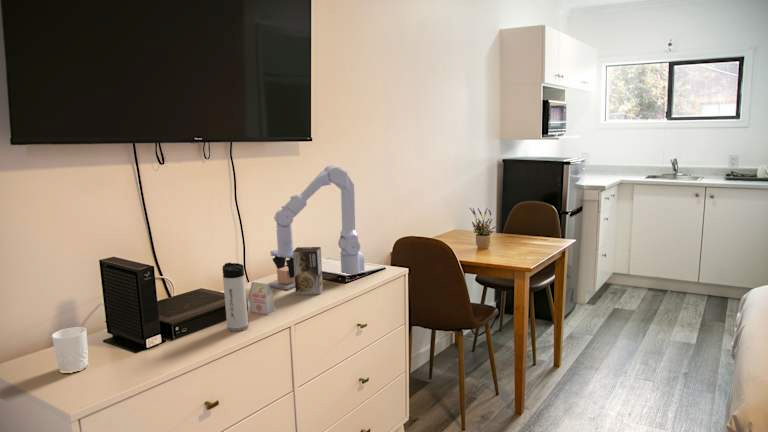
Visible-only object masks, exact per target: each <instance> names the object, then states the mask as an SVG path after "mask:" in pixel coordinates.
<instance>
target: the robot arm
mask: <svg viewBox="0 0 768 432" xmlns="http://www.w3.org/2000/svg"><path fill="white" fill-rule="evenodd" d="M331 183H332V184H334V185H335V186H336V187H337V188H338V189H339V190H340V194H341V195H340V200H341V201H340V202H341V203H340V204H341V231H340V234H339V235H340V236H339V239H338V243H337V244H338V247H339V248H340V267H341V268H340V271H341V272H342V273H346V274H356V273H359V272H361V271H365V257H364V254H363V253H362V252H361V251H360V250H361V244H360V241H359V236H358V233H357V231H356V211H355V210H356V209H355V206H356V204H355V203H356V202H355V184H354V182H353V181H352V179H351V177H350V176H349V174H348V172H347V171H346V170H345V169H343V168H341V167H339V166H334V165H330V164H329V165H328V166H326V167H325V168H324V169H323V170H322V171H320V172H319V173H318V174H317V175H316V177H315V178H314V179H313V180H312V181H311V182H310V183H309V184H308V186H306V188H305V189H304V190H303V191H302V192H301V193H300V194H295V195H291V196H290V197H289V199H290V200H289V201H287V202H286V203H285V205H281V209H278V210H277V211H276V212H275V214H274V216H273V219H274V221H275V222H276V243H277V244H276V245H277V249H273V250H270V251H269V252H270V257H273V258H272V262H273V263H274V264H275V267H276V270H277V269H280V268H283V267H286V265H287V267H288V269H289V275H290V278H292V277H295V274H294V261H293V251H294V243H293V228H292V224H293V221H294V218H296V216H298V215H299V213H300V212H301V211H302V210H303V209H304V208H305V207H306V206H307V203H308V200H309V199H310V198H311V197H313V195H314V194H316V192H317V191H319V190H320V189H321V188H322V187H325V186H330V185H332V184H331ZM365 272H366V271H365ZM358 277H359V276H357V277H356V278H358Z"/></svg>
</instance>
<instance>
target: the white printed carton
mask: <svg viewBox="0 0 768 432" xmlns="http://www.w3.org/2000/svg"><path fill="white" fill-rule="evenodd" d="M271 288H272V287H270V286H269V284H267V283H265V282H255V281H251V284H250V290H249V308H250V313H251V312H253V313H252V314H256V313H258V315H263V314H264V315H263V316H269V315H270V314H273V313H275V302H274V294H273V292H272V289H271ZM272 312H273V313H272Z"/></svg>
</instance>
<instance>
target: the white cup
mask: <svg viewBox="0 0 768 432" xmlns="http://www.w3.org/2000/svg"><path fill="white" fill-rule="evenodd" d="M87 332H88V331H87V328H86V327H83V326H82V327H81V326H72V327H68V328H63V329H60V330H58V331H55V332H53V333H52V335H51V339H52V344H53V349H54V355H55V359H56V362H57V366H58V370H59V369H60V370H62V371H71V370H77V369H80V368H82V367H85V366H86V365H87V364H88V365H89V348H88V347H89V346H88V334H87Z"/></svg>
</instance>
